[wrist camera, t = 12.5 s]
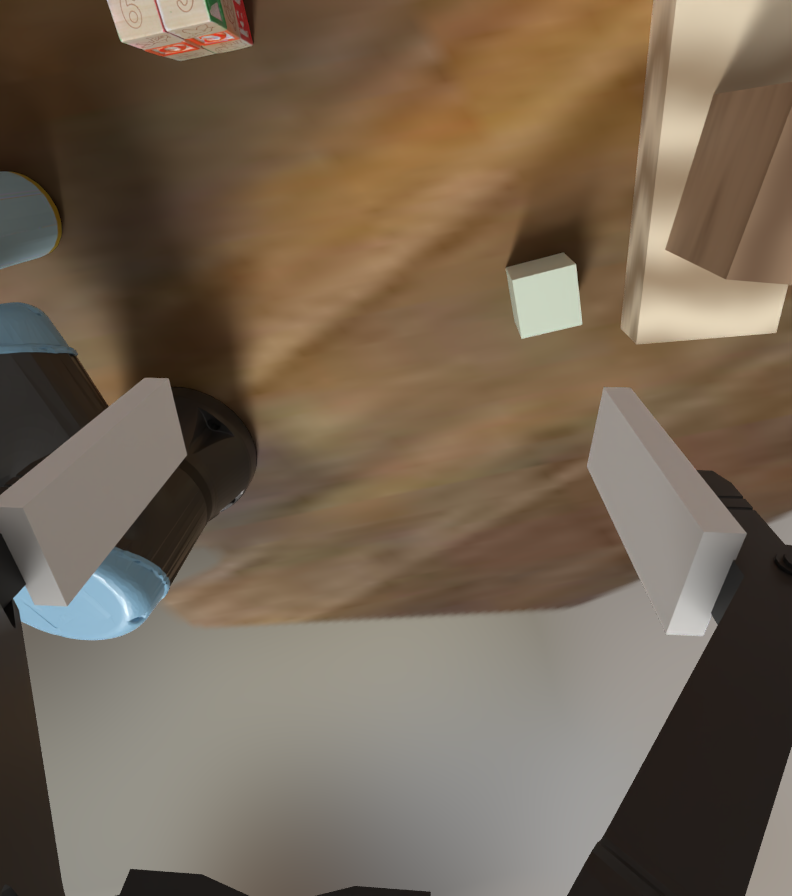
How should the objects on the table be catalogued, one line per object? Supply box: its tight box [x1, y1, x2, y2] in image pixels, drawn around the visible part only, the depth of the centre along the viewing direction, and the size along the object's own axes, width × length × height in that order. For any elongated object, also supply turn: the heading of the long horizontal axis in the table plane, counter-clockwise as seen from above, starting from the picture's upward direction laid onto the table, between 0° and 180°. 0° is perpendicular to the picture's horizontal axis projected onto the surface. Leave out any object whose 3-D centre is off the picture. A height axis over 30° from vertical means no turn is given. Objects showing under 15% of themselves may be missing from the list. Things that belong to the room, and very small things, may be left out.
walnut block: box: [665, 82, 792, 285], centre depth 34 cm, size 6×10×10 cm, turn 176°
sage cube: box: [506, 252, 582, 339], centre depth 45 cm, size 5×5×5 cm
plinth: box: [621, 0, 792, 344], centre depth 40 cm, size 24×11×5 cm, turn 7°
